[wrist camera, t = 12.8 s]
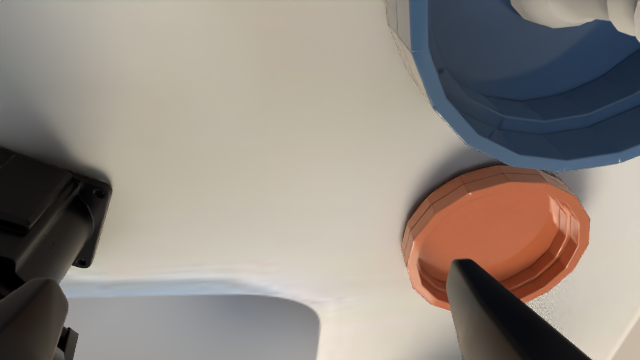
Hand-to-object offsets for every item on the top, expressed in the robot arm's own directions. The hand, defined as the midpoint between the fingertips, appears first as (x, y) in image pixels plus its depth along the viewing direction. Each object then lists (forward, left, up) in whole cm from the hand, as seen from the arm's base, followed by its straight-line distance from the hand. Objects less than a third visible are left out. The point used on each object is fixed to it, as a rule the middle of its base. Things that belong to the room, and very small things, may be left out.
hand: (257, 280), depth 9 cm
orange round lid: (-3, -15, -12) cm, 19 cm away
